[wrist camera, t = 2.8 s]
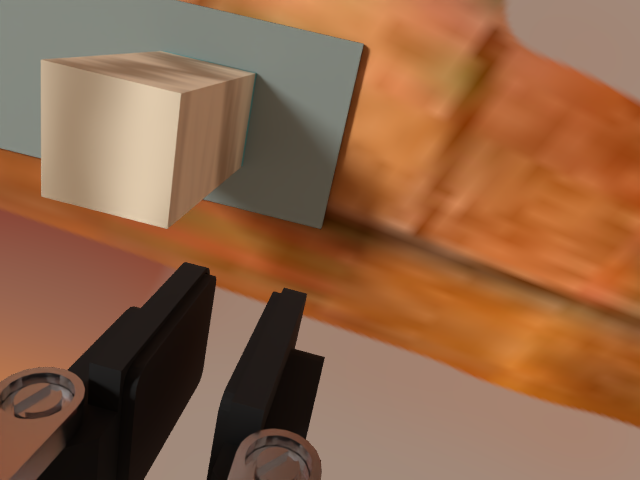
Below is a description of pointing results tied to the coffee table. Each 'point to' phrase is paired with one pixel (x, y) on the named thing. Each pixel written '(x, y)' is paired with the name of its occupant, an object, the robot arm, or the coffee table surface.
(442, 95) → the coffee table surface
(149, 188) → the maple block
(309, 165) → the rubber mat
